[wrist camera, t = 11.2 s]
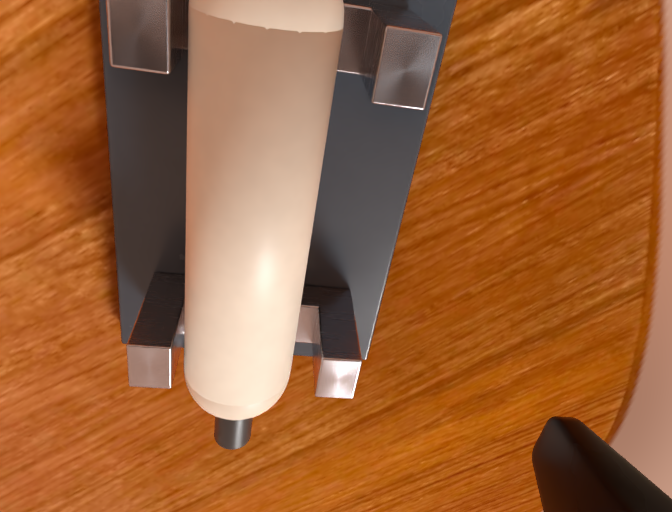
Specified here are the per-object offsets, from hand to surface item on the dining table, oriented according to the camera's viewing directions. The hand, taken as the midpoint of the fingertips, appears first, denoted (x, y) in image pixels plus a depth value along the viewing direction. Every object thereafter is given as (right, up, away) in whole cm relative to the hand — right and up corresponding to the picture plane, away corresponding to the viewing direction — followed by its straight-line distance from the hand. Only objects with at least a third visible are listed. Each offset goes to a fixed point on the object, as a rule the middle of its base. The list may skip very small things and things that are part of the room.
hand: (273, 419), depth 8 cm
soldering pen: (-1, +5, +6) cm, 8 cm away
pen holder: (-1, +5, +9) cm, 10 cm away
